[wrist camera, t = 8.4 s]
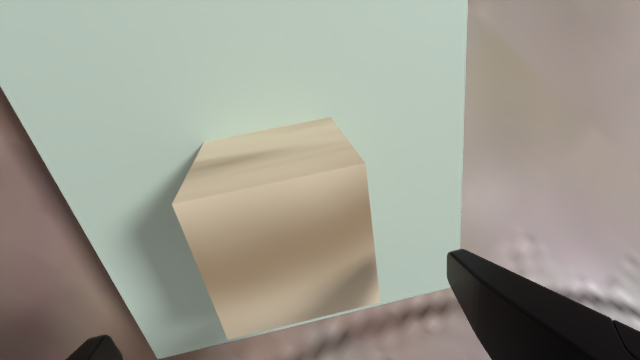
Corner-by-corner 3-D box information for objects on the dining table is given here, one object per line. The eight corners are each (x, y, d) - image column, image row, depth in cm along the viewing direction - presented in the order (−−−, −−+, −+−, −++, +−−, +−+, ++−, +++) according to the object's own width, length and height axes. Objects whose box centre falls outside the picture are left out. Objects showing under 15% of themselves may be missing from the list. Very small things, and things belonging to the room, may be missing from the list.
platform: (435, 254, 23) (458, 285, 20) (171, 317, 21) (157, 359, 19) (432, -62, 15) (470, -82, 12) (14, 8, 14) (-48, 3, 11)
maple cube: (346, 221, 17) (380, 302, 12) (238, 245, 16) (227, 339, 11) (330, 116, 14) (365, 163, 9) (204, 141, 14) (171, 204, 9)
